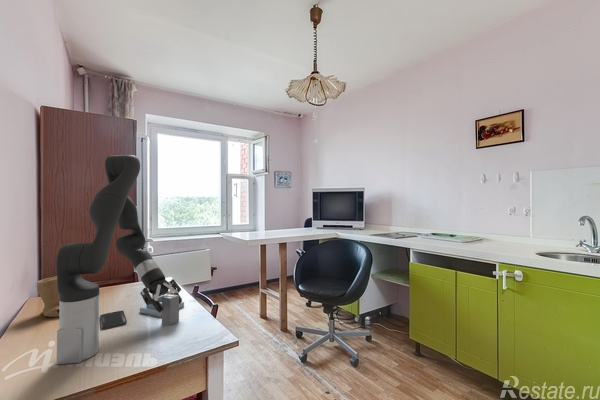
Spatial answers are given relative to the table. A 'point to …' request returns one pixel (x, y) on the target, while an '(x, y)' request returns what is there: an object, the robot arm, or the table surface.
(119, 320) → the phone
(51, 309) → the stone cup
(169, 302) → the block
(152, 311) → the outlet box
